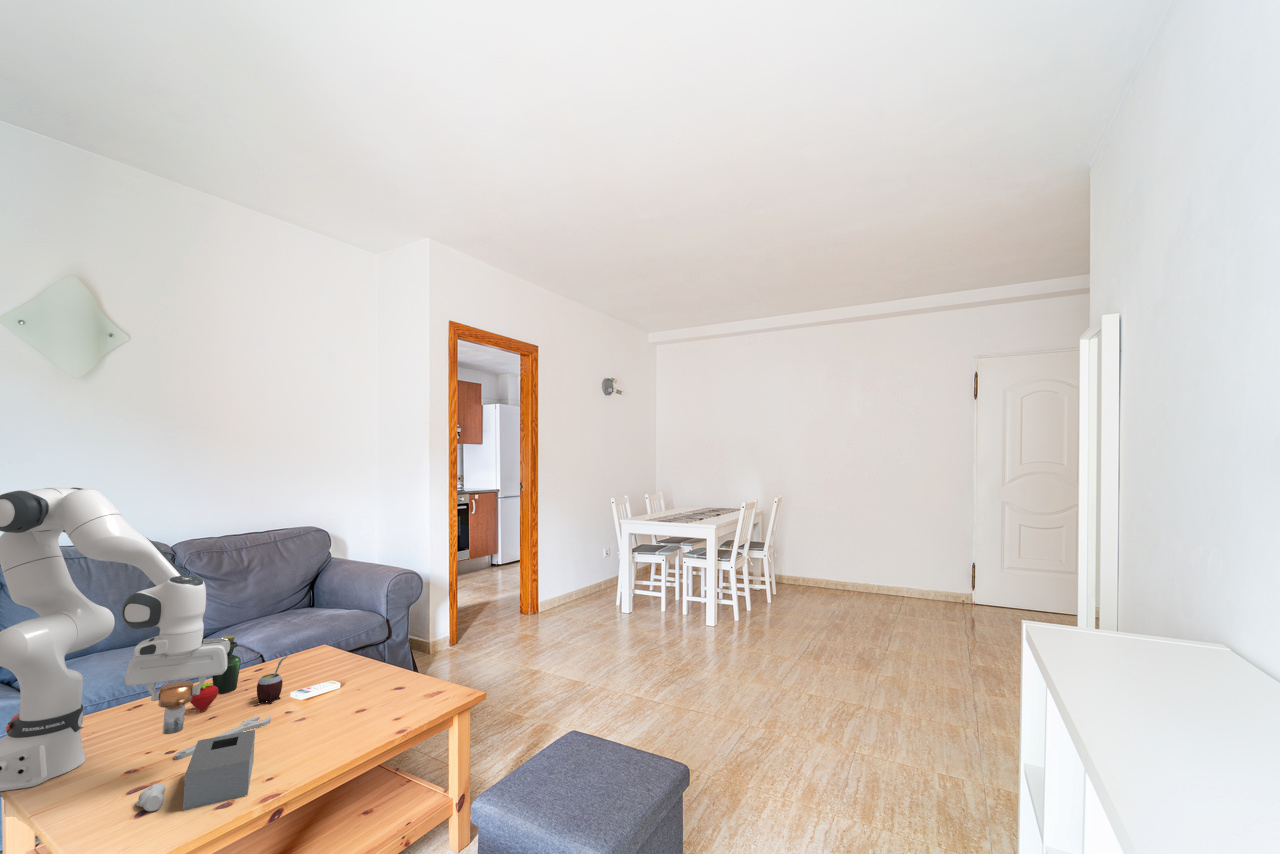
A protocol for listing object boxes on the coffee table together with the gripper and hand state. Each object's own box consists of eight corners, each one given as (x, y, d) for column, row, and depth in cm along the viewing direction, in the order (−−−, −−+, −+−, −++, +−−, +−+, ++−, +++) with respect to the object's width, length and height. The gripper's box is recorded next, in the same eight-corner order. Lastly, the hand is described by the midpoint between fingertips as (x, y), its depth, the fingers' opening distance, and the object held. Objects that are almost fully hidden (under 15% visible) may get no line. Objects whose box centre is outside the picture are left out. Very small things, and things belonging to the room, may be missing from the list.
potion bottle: (243, 689, 196) (246, 636, 197) (216, 697, 189) (219, 642, 190) (232, 684, 200) (236, 632, 202) (205, 691, 193) (209, 638, 195)
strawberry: (219, 710, 179) (221, 678, 180) (189, 718, 173) (191, 684, 174) (215, 705, 183) (217, 673, 184) (185, 712, 177) (188, 679, 178)
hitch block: (182, 810, 127) (185, 773, 128) (196, 773, 142) (198, 740, 143) (247, 795, 133) (249, 760, 134) (253, 761, 149) (255, 729, 149)
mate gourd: (254, 700, 186) (257, 654, 188) (282, 694, 192) (284, 649, 193) (258, 708, 181) (260, 660, 182) (286, 701, 186) (289, 654, 187)
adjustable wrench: (177, 763, 148) (178, 756, 148) (164, 757, 151) (164, 750, 151) (273, 723, 171) (274, 717, 171) (260, 719, 174) (260, 713, 174)
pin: (152, 739, 138) (157, 692, 139) (158, 727, 144) (163, 683, 144) (187, 733, 141) (191, 688, 142) (191, 722, 147) (195, 679, 148)
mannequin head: (141, 806, 131) (168, 792, 134) (137, 822, 124) (166, 807, 127) (135, 789, 130) (163, 775, 133) (130, 805, 124) (159, 790, 127)
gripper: (232, 633, 152) (227, 685, 151) (132, 642, 142) (126, 699, 141) (229, 639, 147) (224, 694, 146) (125, 650, 136) (119, 709, 135)
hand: (175, 697), depth 143 cm, fingers closed on pin, 7 cm apart
